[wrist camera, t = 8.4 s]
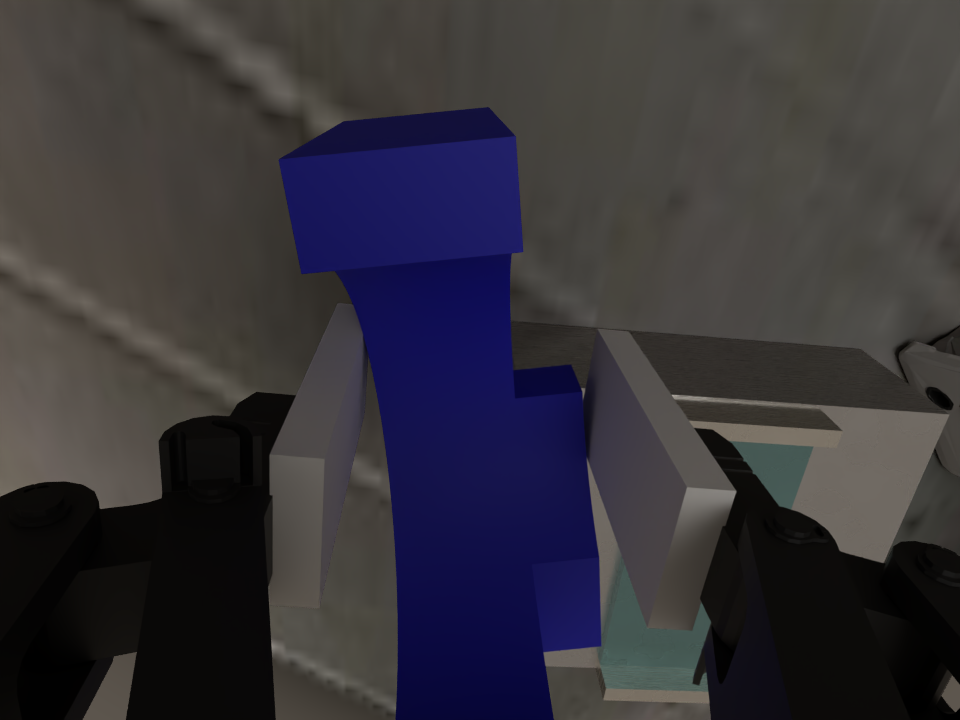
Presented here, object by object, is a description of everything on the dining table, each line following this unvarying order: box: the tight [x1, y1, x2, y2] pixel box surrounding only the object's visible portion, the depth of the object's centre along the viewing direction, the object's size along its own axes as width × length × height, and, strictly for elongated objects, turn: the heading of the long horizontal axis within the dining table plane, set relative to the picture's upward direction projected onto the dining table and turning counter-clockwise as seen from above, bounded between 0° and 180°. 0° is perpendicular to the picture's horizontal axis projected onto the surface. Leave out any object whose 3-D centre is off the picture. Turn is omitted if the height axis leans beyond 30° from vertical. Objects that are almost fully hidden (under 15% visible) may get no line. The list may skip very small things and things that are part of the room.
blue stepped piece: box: [279, 107, 601, 720], centre depth 14 cm, size 12×4×6 cm, turn 5°
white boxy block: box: [511, 321, 950, 703], centre depth 35 cm, size 19×16×9 cm
